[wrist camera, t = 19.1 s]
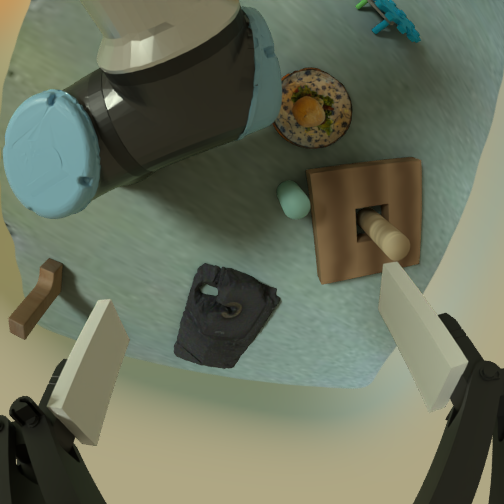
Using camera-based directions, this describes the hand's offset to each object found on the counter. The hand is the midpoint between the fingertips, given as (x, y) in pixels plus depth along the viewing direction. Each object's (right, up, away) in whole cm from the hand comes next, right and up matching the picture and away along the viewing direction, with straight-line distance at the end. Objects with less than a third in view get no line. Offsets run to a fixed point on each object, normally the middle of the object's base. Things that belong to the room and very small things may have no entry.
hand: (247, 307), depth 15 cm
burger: (+8, +23, +27) cm, 37 cm away
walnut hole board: (+19, +8, +34) cm, 40 cm away
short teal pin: (+6, +11, +32) cm, 35 cm away
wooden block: (-37, -2, +37) cm, 52 cm away
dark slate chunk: (-6, -10, +42) cm, 44 cm away
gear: (+20, +38, +21) cm, 48 cm away
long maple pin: (+19, +8, +34) cm, 40 cm away
